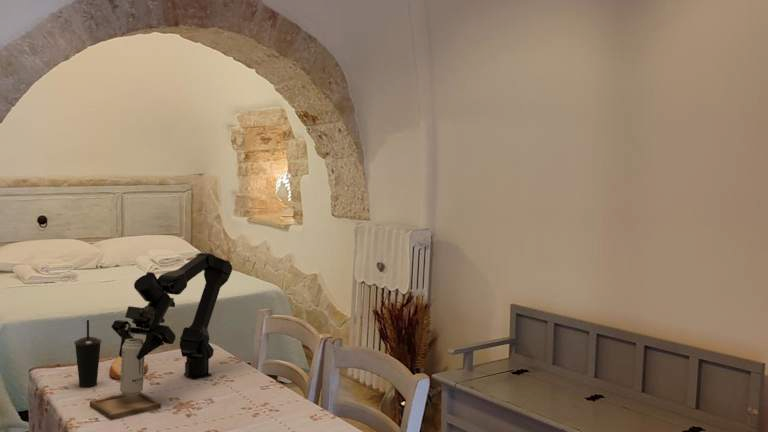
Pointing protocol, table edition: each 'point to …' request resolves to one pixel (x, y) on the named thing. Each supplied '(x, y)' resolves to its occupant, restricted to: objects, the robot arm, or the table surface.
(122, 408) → the tray
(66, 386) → the table surface
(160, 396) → the table surface
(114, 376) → the bread slice
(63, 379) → the table surface
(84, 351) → the drinking cup
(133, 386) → the energy drink can
